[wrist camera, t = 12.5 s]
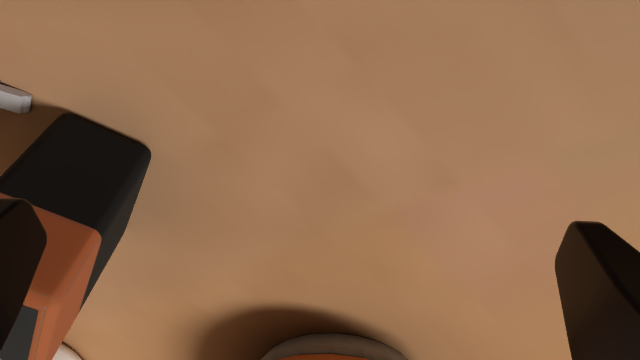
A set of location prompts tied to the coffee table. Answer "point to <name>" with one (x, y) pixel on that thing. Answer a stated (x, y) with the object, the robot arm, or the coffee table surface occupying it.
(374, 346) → the pie
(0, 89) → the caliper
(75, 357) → the vodka
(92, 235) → the battery
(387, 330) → the coffee table surface
